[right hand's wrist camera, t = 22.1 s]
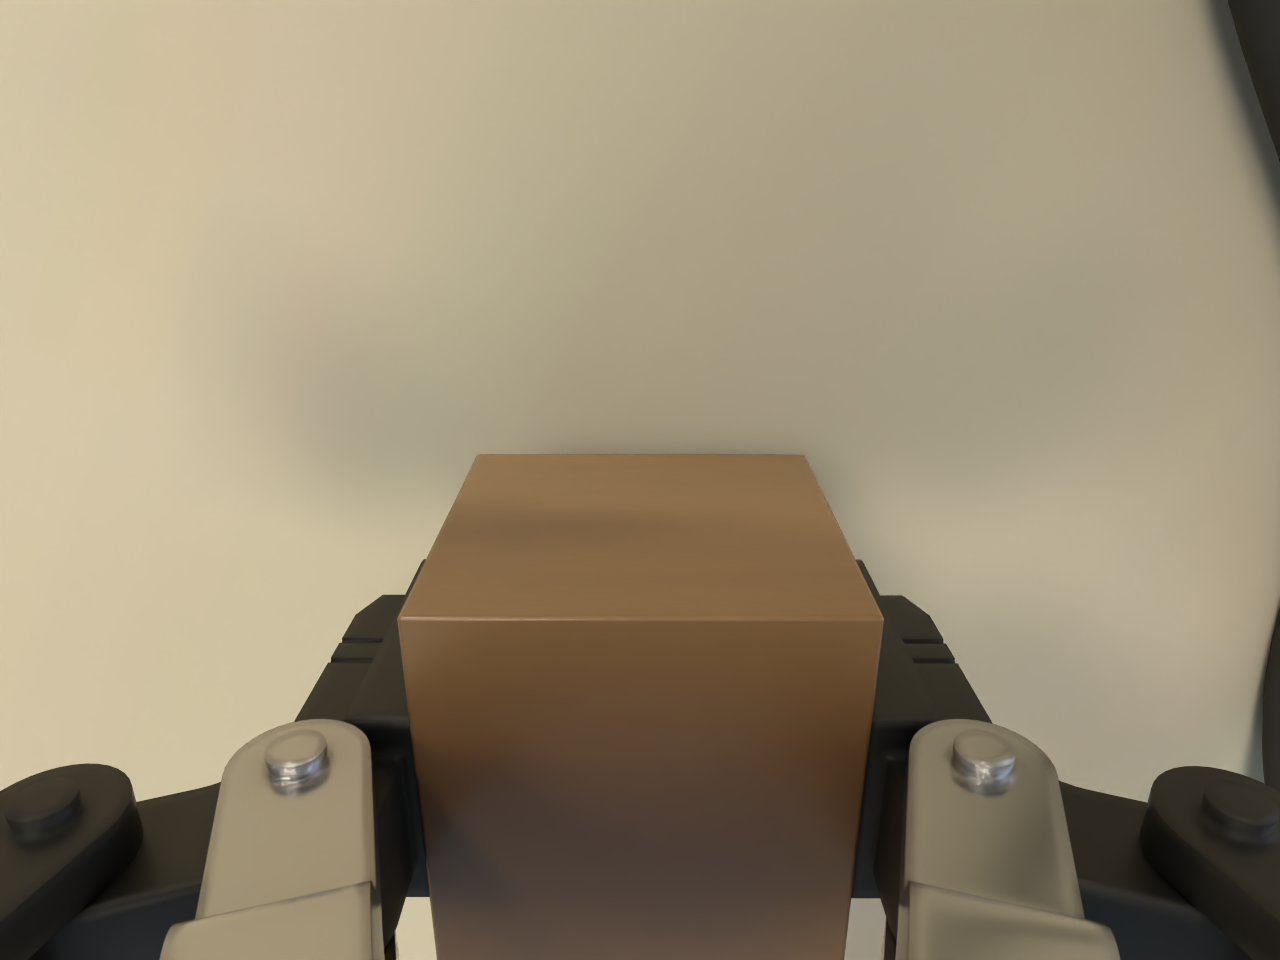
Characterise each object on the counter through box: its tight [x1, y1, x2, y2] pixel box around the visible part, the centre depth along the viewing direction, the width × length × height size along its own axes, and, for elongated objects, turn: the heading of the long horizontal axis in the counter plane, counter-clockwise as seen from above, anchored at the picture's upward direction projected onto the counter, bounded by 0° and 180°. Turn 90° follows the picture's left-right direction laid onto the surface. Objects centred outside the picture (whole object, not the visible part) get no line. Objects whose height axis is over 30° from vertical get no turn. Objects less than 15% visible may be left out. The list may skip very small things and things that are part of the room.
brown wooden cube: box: [397, 454, 884, 960], centre depth 11 cm, size 4×4×4 cm
